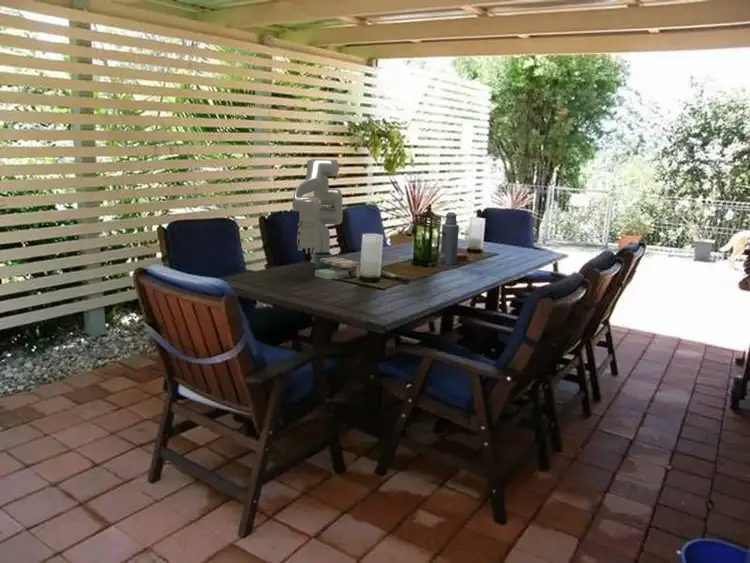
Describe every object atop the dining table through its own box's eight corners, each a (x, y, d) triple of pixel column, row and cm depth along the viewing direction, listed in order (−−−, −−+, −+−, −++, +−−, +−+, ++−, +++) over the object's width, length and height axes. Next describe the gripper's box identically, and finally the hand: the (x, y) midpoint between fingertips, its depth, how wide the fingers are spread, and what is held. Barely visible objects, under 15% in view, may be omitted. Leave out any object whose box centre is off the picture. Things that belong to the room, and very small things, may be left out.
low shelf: (315, 273, 309) (315, 259, 307) (336, 270, 318) (336, 256, 316) (338, 280, 294) (338, 265, 293) (359, 276, 303) (359, 262, 301)
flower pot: (316, 271, 313) (316, 255, 311) (313, 268, 322) (313, 252, 320) (332, 271, 316) (332, 254, 314) (328, 268, 324) (329, 252, 322)
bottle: (437, 262, 349) (439, 211, 343) (452, 261, 352) (455, 211, 346) (444, 265, 340) (446, 213, 334) (459, 264, 343) (462, 213, 337)
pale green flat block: (314, 276, 303) (314, 270, 302) (336, 272, 312) (336, 267, 311) (326, 279, 295) (326, 273, 295) (348, 276, 304) (348, 270, 303)
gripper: (298, 227, 281) (299, 264, 286) (324, 224, 290) (324, 260, 295) (290, 224, 286) (290, 261, 291) (315, 222, 296) (315, 257, 301)
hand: (307, 261), depth 293 cm, fingers closed
